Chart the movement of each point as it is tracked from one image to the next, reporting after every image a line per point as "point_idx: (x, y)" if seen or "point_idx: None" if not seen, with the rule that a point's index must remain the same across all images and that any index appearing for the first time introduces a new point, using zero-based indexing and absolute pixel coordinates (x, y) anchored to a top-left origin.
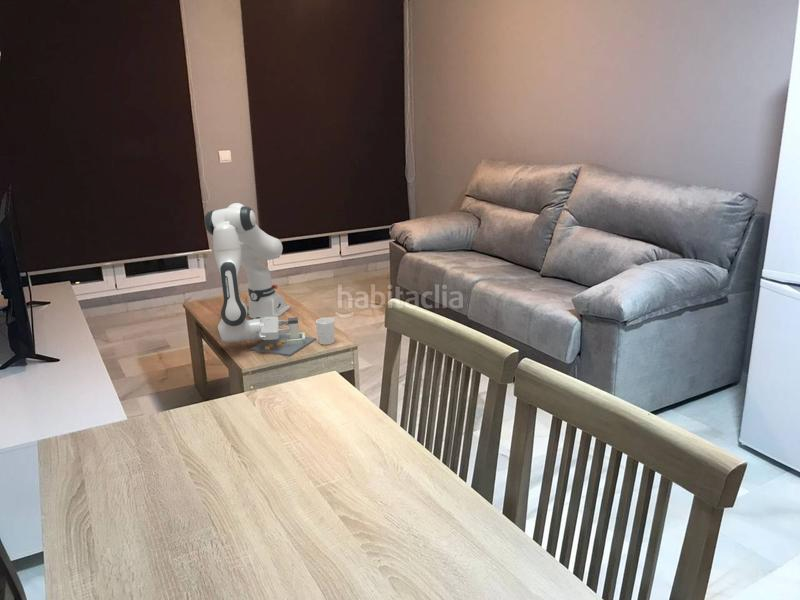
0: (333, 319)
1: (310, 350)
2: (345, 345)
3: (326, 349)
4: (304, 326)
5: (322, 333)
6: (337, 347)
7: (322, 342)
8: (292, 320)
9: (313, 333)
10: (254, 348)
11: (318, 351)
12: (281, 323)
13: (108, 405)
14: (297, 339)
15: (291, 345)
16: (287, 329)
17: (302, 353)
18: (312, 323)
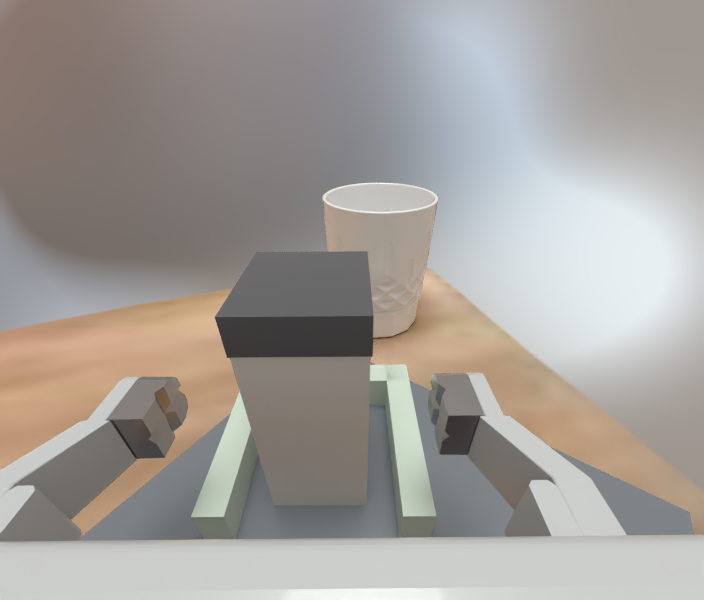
0: (370, 184)
1: (499, 376)
2: (428, 272)
3: (476, 317)
4: (10, 399)
5: (425, 264)
6: (449, 289)
7: (412, 315)
8: (361, 281)
9: (204, 356)
10: None
11: (510, 343)
12: (63, 513)
13: None
14: (406, 413)
15: (440, 494)
16: (489, 398)
17: (566, 420)
18: (15, 357)
